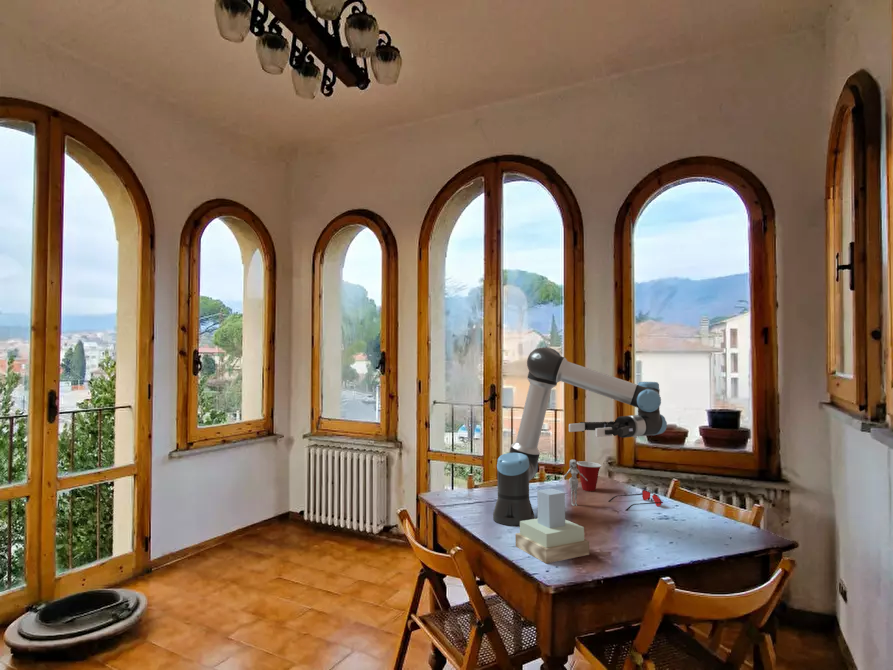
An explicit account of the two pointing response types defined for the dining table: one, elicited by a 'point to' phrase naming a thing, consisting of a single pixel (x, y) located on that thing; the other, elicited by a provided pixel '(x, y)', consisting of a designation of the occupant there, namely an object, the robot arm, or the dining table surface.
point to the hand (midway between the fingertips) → (582, 430)
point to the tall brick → (551, 508)
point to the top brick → (551, 533)
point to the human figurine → (573, 480)
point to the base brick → (552, 549)
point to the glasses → (645, 498)
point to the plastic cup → (588, 474)
